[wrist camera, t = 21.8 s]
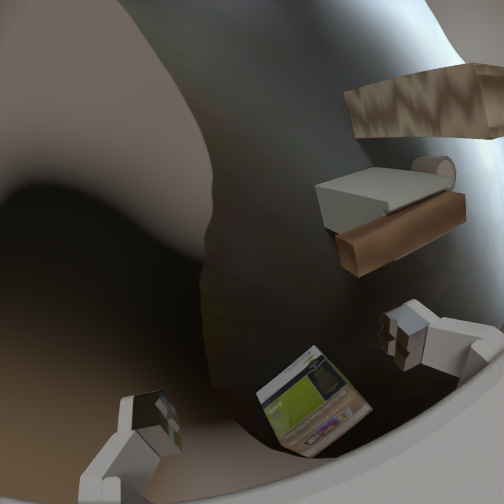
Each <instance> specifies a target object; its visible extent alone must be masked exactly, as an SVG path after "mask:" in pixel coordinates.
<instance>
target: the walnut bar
mask: <svg viewBox="0 0 504 504" xmlns="http://www.w3.org/2000/svg"><path fill="white" fill-rule="evenodd" d="M465 221H466V203H465V194H461V193H456V192H452V191H447V190H444V191H442V192H440V193H437V194H435V195H433V196H430V197H428V198H425V199H423V200H421V201H418V202H416V203H414V204H411V205H409V206H406V207H404V208H402V209H399V210H397V211H394V212H392V213H390V214H387V215H385V216H382V217H380V218H378V219H375V220H373V221H370V222H368V223H365V224H363V225H361V226H358V227H356V228H353V229H351V230H348V231H346V232H343V233H341V234H338V235H336V236H335V239H336V244H337V249H338V254H339V259H340V265H341V267H343V268H345V269H346V270H348V271H349V272H351V273H352V274H354V275H355V276H357V277H358V278H359V277H361V276H363V275H365V274H367V273H369V272H371V271H373V270H375V269H377V268H379V267H381V266H383V265H385V264H387V263H389V262H391V261H393V260H395V259H397V258H399V257H401V256H403V255H405V254H407V253H409V252H411V251H413V250H415V249H416V248H418V247H420V246H422V245H424V244H426V243H428V242H430V241H431V240H433V239H435V238H437V237H439V236H441V235H442V234H444V233H446V232H448V231H450V230H451V229H453V228H455V227H457V226H458V225H460V224H462V223H464V222H465Z"/></svg>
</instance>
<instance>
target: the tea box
mask: <svg viewBox="0 0 504 504" xmlns="http://www.w3.org/2000/svg"><path fill="white" fill-rule="evenodd" d="M256 394H257V397H258V399H259V401H260V403H261V405H262V407H263V409H264V411H265V414H266V416H267V418H268V420H269V422H270V424H271V426H272V428H273V430H274V432H275V434H276V436H277V438H278V440H279V442H280V444H281V445H282V446H283V447H286V448H288V449H290V450H292V451H295V452H297V453H299V454H302V455H304V456H306V457H309V458H312V457H313V456H315V455H316V454H318V453H319V452H320V451H322V450H323V449H325V448H326V447H327V446H328V445H330V444H331V443H332V442H334V441H335V440H336V439H338V438H339V437H340V436H342V435H343V434H344V433H345V432H347V431H348V430H349V429H350V428H352V427H353V426H354V425H355V424H356V423H358V422H359V421H360V420H361V419H362V418H364V417H365V416H366V415H367V414H368V413H369V412H371V411H372V410H373V409H372V407H371V406H370V405H369V404H368V403H367V401H366V400H365V399H364V398H363V397H362V396H361V395H360V394H359V392H358V391H357V390H356V389H355V388H354V387H353V385H352V384H351V383H350V382H349V381H348V379H347V378H346V377H345V376H344V375H343V374H342V373H341V372H340V371H339V369H338V368H337V367H336V366H335V365H334V364H333V363H332V362H331V361H330V360H329V359H328V358H327V357H326V356H325V355H324V354H323V353H322V352H321V351H320V350H319V349H318V348H317V347H316V346H315V345H313V346H312V347H311V348H310V349H309V350H308V351H306V352H305V353H304V354H303V355H302V356H301V357H300V358H298V359H297V360H296V361H295V362H294V363H292V364H291V365H290V366H289V367H288V368H286V369H285V370H284V371H283V372H282V373H280V374H279V375H278V376H277V377H275V378H274V379H273V380H272V381H271V382H269V383H268V384H267V385H265V386H264V387H263V388H262V389H260V390H259V391H258V392H257V393H256Z"/></svg>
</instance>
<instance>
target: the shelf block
mask: <svg viewBox="0 0 504 504" xmlns="http://www.w3.org/2000/svg"><path fill="white" fill-rule="evenodd" d="M343 94H344V98H345V101H346V105H347V108H348V112H349V115H350V119H351V123H352V127H353V131H354V135H355V139H356V138H379V137H450V138H471V139H486V140H492V139H495V138H499V137H503V136H504V67H499V66H493V65H487V64H480V63H468V64H461V65H455V66H449V67H444V68H438V69H433V70H428V71H423V72H419V73H414V74H410V75H405V76H401V77H397V78H393V79H389V80H385V81H381V82H377V83H373V84H370V85H366V86H363V87H359V88H356V89H352V90H349V91H346V92H343Z"/></svg>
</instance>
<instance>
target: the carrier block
mask: <svg viewBox="0 0 504 504" xmlns="http://www.w3.org/2000/svg"><path fill="white" fill-rule="evenodd" d="M451 185H454V183H453V177H450V176H444V175H437V174H430V173H423V172H416V171H408V170H399V169H390V168H381V167H372V168H368V169H365V170H362V171H359V172H356V173H352V174H349V175H346V176H343V177H340V178H337V179H333V180H330V181H327V182H324V183H321V184H318V185H315V189H316V193H317V197H318V201H319V205H320V209H321V214H322V218H323V223H324V227H325V228H328V229H330V230H332V231H334V232H336V233H338V234H341V233H343V232H346V231H348V230H351V229H353V228H356V227H358V226H361V225H363V224H365V223H368V222H370V221H373V220H375V219H378V218H380V217H382V216H385V215H387V214H390V213H392V212H394V211H397V210H399V209H402V208H404V207H406V206H409V205H411V204H414V203H416V202H418V201H421V200H423V199H425V198H428V197H430V196H433V195H435V194H437V193H440V192H442V191H444V190H447V191H448V187H449V186H451ZM455 228H457V227H455ZM455 228H453V229H455ZM453 229H451V230H450V231H452V230H453ZM450 231H448V232H450ZM448 232H446V233H448ZM446 233H444V234H442V235H441V236H443V235H445V234H446ZM441 236H439V237H441ZM439 237H437V238H439ZM437 238H435V239H433V240H431V241H430V242H432V241H434V240H436V239H437ZM430 242H428V243H430ZM428 243H426V244H428ZM426 244H424V245H422V246H420V247H418V248H416V249H415V250H417V249H419V248H421V247H423V246H425V245H426ZM415 250H413V251H415ZM413 251H411V252H413ZM411 252H409V253H407V254H405V255H403V256H401V257H399V258H397V259H395V261H396V260H398V259H400V258H402V257H404V256H406V255H408V254H410V253H411Z"/></svg>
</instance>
